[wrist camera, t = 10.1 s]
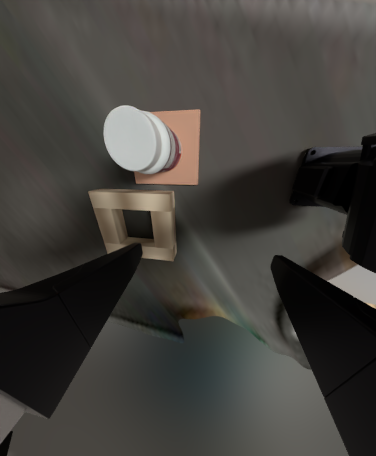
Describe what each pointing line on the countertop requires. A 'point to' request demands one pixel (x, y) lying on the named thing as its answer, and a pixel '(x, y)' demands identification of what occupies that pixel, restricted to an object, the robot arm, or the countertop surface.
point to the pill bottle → (141, 141)
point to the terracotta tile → (189, 137)
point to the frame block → (137, 200)
